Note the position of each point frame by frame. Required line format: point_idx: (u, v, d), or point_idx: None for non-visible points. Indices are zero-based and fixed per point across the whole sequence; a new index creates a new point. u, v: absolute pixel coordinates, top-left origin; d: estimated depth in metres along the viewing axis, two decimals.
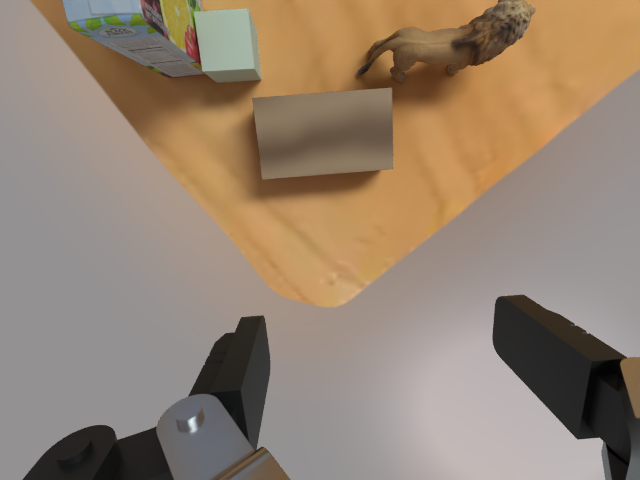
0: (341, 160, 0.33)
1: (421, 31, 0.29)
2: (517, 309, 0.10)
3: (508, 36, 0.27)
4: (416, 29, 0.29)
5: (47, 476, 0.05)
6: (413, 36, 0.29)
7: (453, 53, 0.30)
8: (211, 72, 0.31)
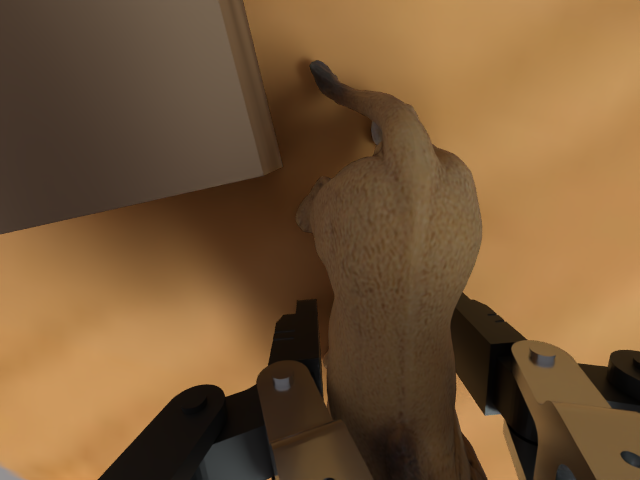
0: None
1: (461, 285, 0.05)
2: None
3: None
4: (473, 258, 0.05)
5: (173, 418, 0.06)
6: (443, 245, 0.05)
7: (359, 431, 0.06)
8: None
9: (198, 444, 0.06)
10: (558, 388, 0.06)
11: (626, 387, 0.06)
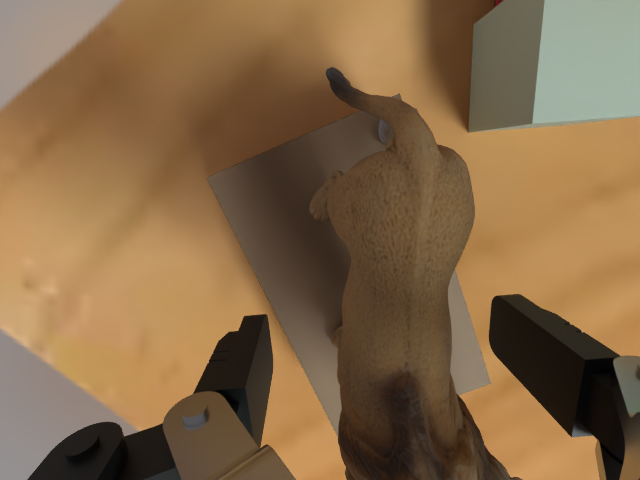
0: (322, 342, 0.14)
1: (457, 254, 0.07)
2: (513, 308, 0.10)
3: None
4: (467, 232, 0.07)
5: (56, 471, 0.05)
6: (443, 221, 0.06)
7: (371, 380, 0.08)
8: None
9: None
10: None
11: None
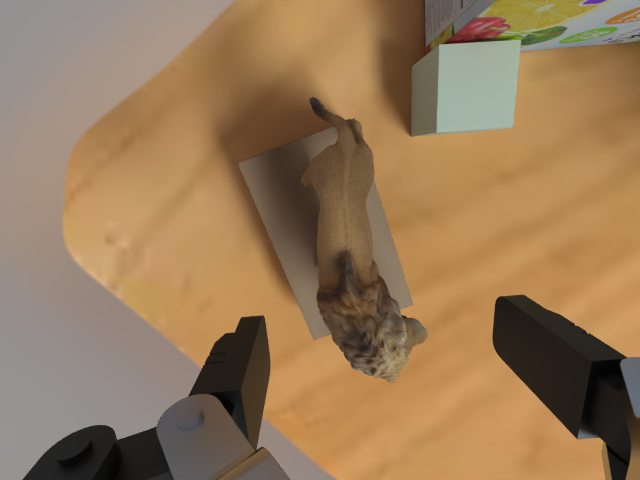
0: (305, 272, 0.22)
1: (364, 190, 0.15)
2: (517, 309, 0.10)
3: (349, 348, 0.15)
4: (368, 180, 0.15)
5: (47, 476, 0.05)
6: (355, 174, 0.14)
7: (329, 257, 0.16)
8: (435, 60, 0.19)
9: None
10: None
11: None
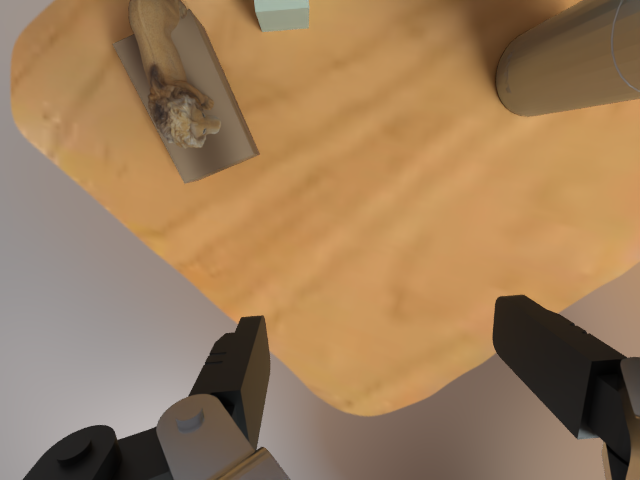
0: None
1: (155, 20, 0.24)
2: (517, 309, 0.10)
3: (157, 120, 0.24)
4: (157, 13, 0.24)
5: (47, 476, 0.05)
6: (145, 7, 0.23)
7: (147, 72, 0.25)
8: None
9: None
10: None
11: None
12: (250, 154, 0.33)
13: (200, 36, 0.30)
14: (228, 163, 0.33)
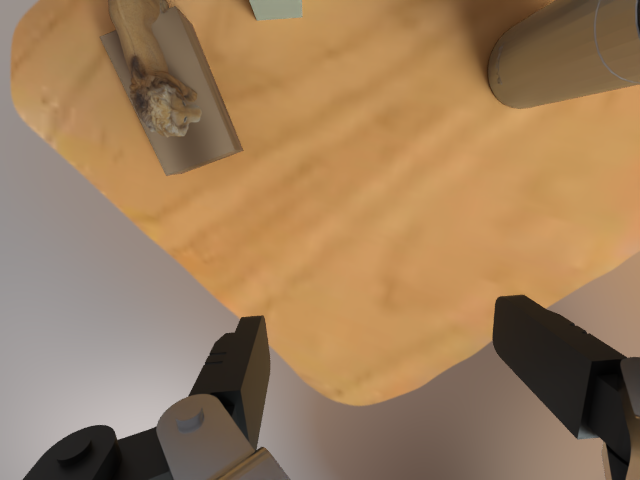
0: None
1: (134, 12, 0.24)
2: (517, 309, 0.10)
3: (138, 109, 0.25)
4: (136, 6, 0.24)
5: (47, 476, 0.05)
6: (124, 0, 0.24)
7: (129, 64, 0.26)
8: None
9: None
10: None
11: None
12: (231, 150, 0.34)
13: (185, 33, 0.31)
14: (209, 158, 0.34)
